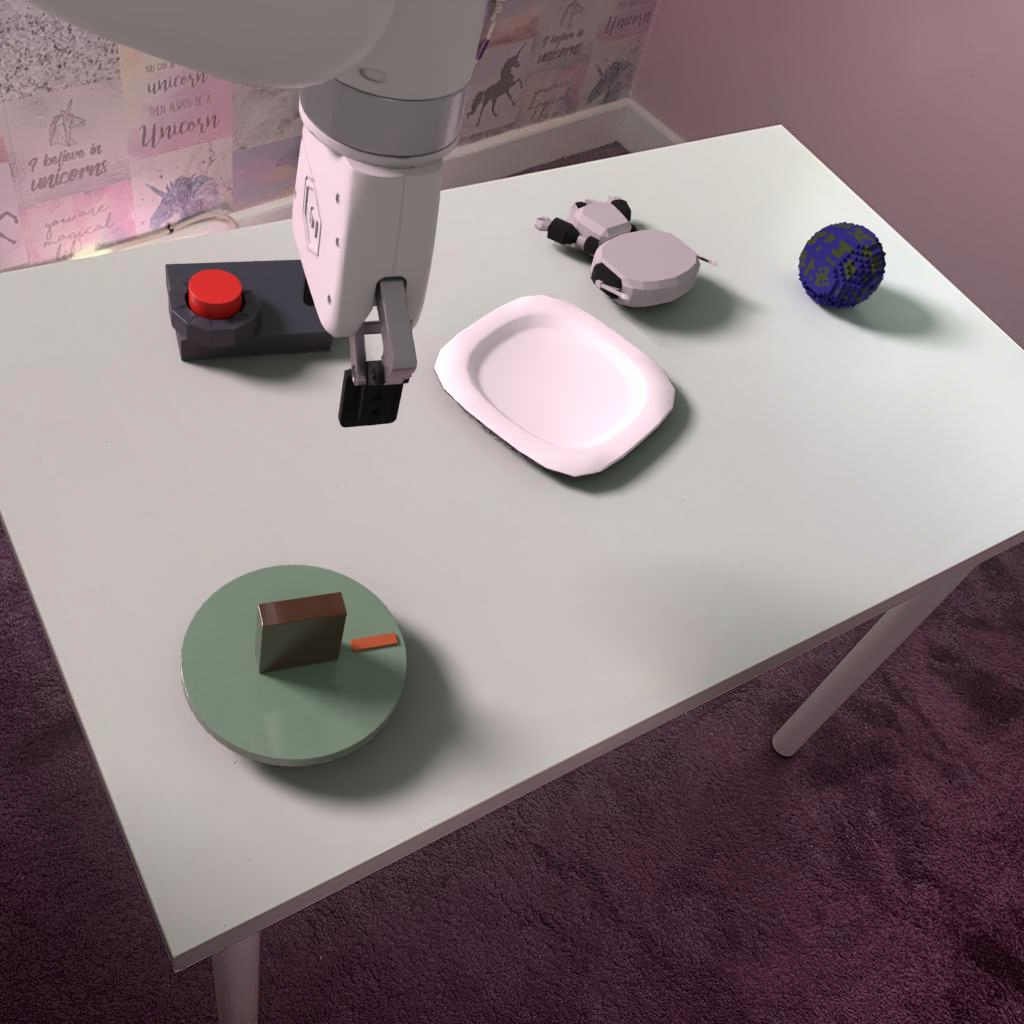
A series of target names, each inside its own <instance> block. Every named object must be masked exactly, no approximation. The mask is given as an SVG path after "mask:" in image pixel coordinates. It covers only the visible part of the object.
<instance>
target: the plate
mask: <svg viewBox="0 0 1024 1024" xmlns="http://www.w3.org/2000/svg"><path fill="white" fill-rule="evenodd" d="M437 355H438V356H437V359H436V361H435V364H434V367H433V371H434V373H435V375H436V377H437V379H438V381H439V384H440V386H441V387H442V389H443V391H444V392H445V394H447V395H448V396H449V397H451V399H452V400H453V401H454V402H455V403H457V405H458V406H460V407H461V409H463V410H464V412H466V413H467V414H468V415H470V416H471V417H472V418H474V419H475V421H477V422H478V423H480V424H481V425H482V426H484V427H485V428H486V429H487V430H489V431H490V432H491V433H492V434H494V435H495V436H496V437H498V438H499V439H500V440H501V441H503V442H504V443H506V444H507V445H508V446H510V447H511V448H512V449H513V450H515V451H516V452H518V453H520V454H521V455H522V456H524V457H526V458H527V459H528V460H530V461H532V462H533V463H535V464H536V465H538V466H540V467H541V468H543V469H544V470H547V471H549V472H550V471H551V472H554V473H557V474H560V475H564V476H566V477H570V478H580V477H585V476H591V475H597V474H600V473H603V471H605V470H607V469H609V468H610V467H611V466H612V467H613V465H615V464H616V463H619V461H621V460H622V459H624V458H625V457H626V456H627V455H629V454H630V453H631V452H632V451H633V450H634V449H635V448H637V447H638V446H639V445H641V443H642V442H643V441H645V440H646V439H647V438H648V437H649V436H650V435H651V434H652V433H653V432H655V430H657V429H658V428H659V427H660V425H662V423H663V421H664V420H666V418H667V417H668V415H669V414H670V413H671V412H672V411H673V409H674V403H675V396H676V388H675V387H674V385H673V384H672V382H671V380H670V379H669V377H668V376H667V374H666V373H665V371H664V369H663V368H661V367H660V366H659V365H658V364H657V363H655V361H653V360H652V359H651V358H650V357H649V356H648V355H646V354H645V353H644V352H643V351H642V350H641V349H640V348H638V347H637V346H635V345H634V344H633V343H631V342H630V341H628V340H627V339H626V338H624V337H623V336H621V335H620V334H619V333H618V332H616V331H614V330H613V329H612V328H610V327H609V326H608V325H606V324H605V323H603V322H601V321H600V320H599V319H598V318H597V317H595V316H594V315H592V314H589V312H587V311H584V310H583V309H581V308H579V307H578V306H576V305H575V304H573V303H571V302H569V301H566V300H563V299H560V298H556V297H553V296H550V295H546V294H537V295H536V294H535V295H528V296H526V295H525V296H519V297H517V298H516V299H513V300H510V301H509V302H506V303H505V304H503V305H500V306H499V307H496V308H495V309H494V310H492V311H490V312H489V313H487V314H486V315H484V316H482V317H481V318H479V319H478V320H476V321H475V322H473V323H472V324H470V325H468V326H467V327H466V328H464V329H463V330H461V331H460V332H459V333H457V334H456V335H454V337H452V338H451V339H450V340H449V341H448V342H447V343H446V344H445V345H443V347H442V348H440V350H439V353H438V354H437Z"/></svg>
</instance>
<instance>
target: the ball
mask: <svg viewBox="0 0 1024 1024" xmlns="http://www.w3.org/2000/svg"><path fill="white" fill-rule="evenodd" d="M886 255H887V252H885V251H884V246H883V243H882V242H880V239H879V237H878V236H877V235H876V234H875V233H874V231H872V230H871V229H869V228H868V227H865V225H862V224H861V225H860V224H858V223H856V224H855V223H854V222H848V221H847V222H846V221H843V222H841V221H840V222H838V223H837V222H835V223H833V224H832V223H830V224H829V225H826V226H824V227H822V228H820V230H817V231H815V232H814V234H813V235H812V236H811V237H810V238H809V239H807V241H806V243H805V244H804V247H803V249H802V250H801V252H800V254H799V257H798V265H797V268H798V272H799V273H797V276H798V281H799V282H801V286H802V288H803V289H804V290H805V294H806V295H807V296H808V297H809V298H811V299H812V300H813V301H814V302H815V303H816V304H817V305H819V306H820V305H821V306H824V307H828V308H833V309H838V310H839V309H845V308H846V309H848V308H854V307H856V306H858V305H860V304H862V303H863V302H866V301H867V300H869V298H870V297H871V296H873V294H874V293H875V292H876V291H877V290H878V288H879V287H880V285H881V283H882V281H883V280H884V279H885V277H884V276H885V274H886V269H885V268H886V266H887V262H886V257H885V256H886Z"/></svg>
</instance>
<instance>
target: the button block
mask: <svg viewBox="0 0 1024 1024" xmlns="http://www.w3.org/2000/svg"><path fill="white" fill-rule="evenodd" d="M164 268H165V270H164V271H165V286H166V291H167V292H166V293H167V301H168V302H167V303H168V314H169V319H170V323H171V327H172V328H173V329H174V330H175V331H174V332H175V334H176V335H175V337H176V340H177V346H178V350H179V356H180V360H181V361H195V360H196V361H197V360H210V359H211V360H212V359H226V358H227V359H228V358H241V357H243V358H244V357H257V356H258V357H259V356H269V355H270V356H271V355H273V356H274V355H286V354H287V355H288V354H301V353H317V352H319V353H320V352H330V351H331V350H332V343H333V336H332V335H331V334H329V333H328V332H327V331H326V330H325V328H324V327H323V325H322V324H321V321H320V319H319V316H318V313H317V310H316V307H315V306H308V305H306V304H304V302H303V299H302V285H303V274H304V269H303V266H302V262H301V259H281V260H280V259H277V260H274V259H273V260H251V261H250V260H245V261H221V262H217V261H216V262H190V263H188V262H187V263H166V264H165V266H164ZM210 269H216V270H222V271H226V272H229V273H231V274H232V275H234V276H235V277H236V278H237V279H238V280H239V281H240V283H241V285H242V306H241V309H240V311H239V312H238V313H237V314H236V315H235V316H233V317H231V318H229V319H223V320H210V319H207V318H204V317H201V316H199V315H197V314H196V313H195V312H194V311H193V310H192V309H191V307H190V305H189V281H190V279H191V278H192V277H193V276H194V275H195V274H196V273H198V272H201V271H204V270H210Z"/></svg>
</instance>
